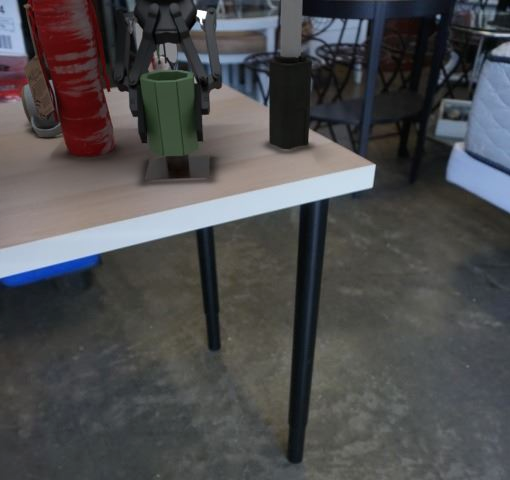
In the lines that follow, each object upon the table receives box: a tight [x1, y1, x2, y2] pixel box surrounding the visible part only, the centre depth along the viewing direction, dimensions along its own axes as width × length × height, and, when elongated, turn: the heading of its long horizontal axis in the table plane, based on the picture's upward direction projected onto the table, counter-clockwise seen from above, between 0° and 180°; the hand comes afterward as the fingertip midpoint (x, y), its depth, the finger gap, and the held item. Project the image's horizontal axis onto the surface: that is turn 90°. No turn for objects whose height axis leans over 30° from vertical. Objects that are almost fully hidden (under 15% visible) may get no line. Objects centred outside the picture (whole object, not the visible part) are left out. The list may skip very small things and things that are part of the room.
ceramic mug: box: [20, 79, 63, 138], centre depth 94 cm, size 11×8×8 cm
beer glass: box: [134, 23, 179, 73], centre depth 96 cm, size 7×7×15 cm
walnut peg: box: [144, 154, 211, 181], centre depth 74 cm, size 9×9×12 cm
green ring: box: [140, 69, 200, 157], centre depth 72 cm, size 7×7×9 cm
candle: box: [268, 0, 313, 150], centre depth 77 cm, size 5×5×25 cm
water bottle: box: [23, 0, 116, 158], centre depth 76 cm, size 12×8×25 cm, turn 98°
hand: (171, 137), depth 71 cm, fingers closed on green ring, 7 cm apart
